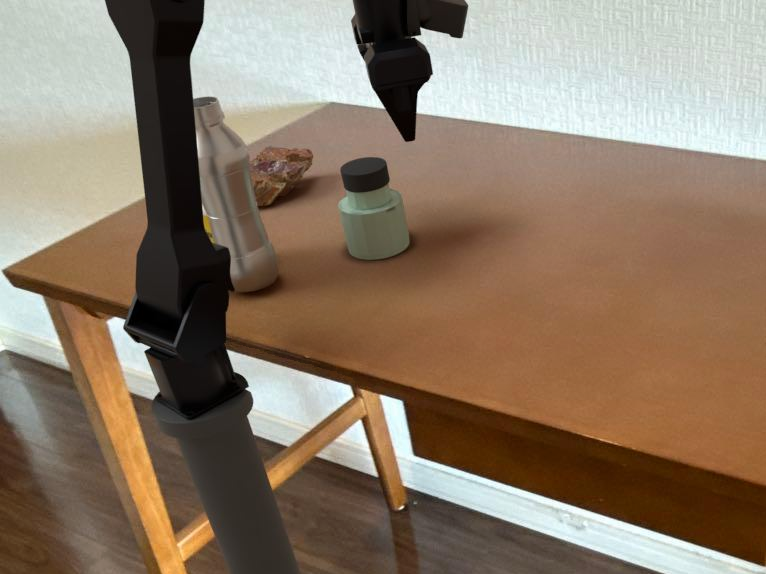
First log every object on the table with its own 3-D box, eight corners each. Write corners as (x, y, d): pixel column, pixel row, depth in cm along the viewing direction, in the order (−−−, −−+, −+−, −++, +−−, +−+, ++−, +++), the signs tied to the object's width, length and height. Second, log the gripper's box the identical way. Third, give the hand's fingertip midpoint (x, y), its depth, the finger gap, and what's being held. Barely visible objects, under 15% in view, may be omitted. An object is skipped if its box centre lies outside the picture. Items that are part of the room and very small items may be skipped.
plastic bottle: (220, 281, 116) (162, 100, 103) (279, 266, 118) (228, 87, 105) (228, 305, 112) (168, 119, 99) (289, 289, 113) (237, 104, 100)
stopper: (369, 222, 114) (360, 178, 111) (340, 212, 117) (330, 169, 114) (404, 205, 117) (396, 162, 113) (375, 196, 119) (366, 153, 116)
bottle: (375, 265, 116) (361, 201, 111) (336, 250, 120) (321, 188, 115) (422, 241, 119) (411, 178, 115) (382, 227, 123) (370, 166, 119)
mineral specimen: (261, 161, 140) (273, 118, 135) (310, 192, 140) (323, 150, 136) (214, 196, 131) (224, 152, 127) (266, 228, 132) (278, 186, 127)
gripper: (471, -27, 95) (493, 142, 105) (440, -64, 108) (462, 88, 119) (353, -7, 93) (386, 162, 104) (336, -47, 107) (367, 105, 118)
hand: (404, 126), depth 111 cm, fingers open, 9 cm apart
